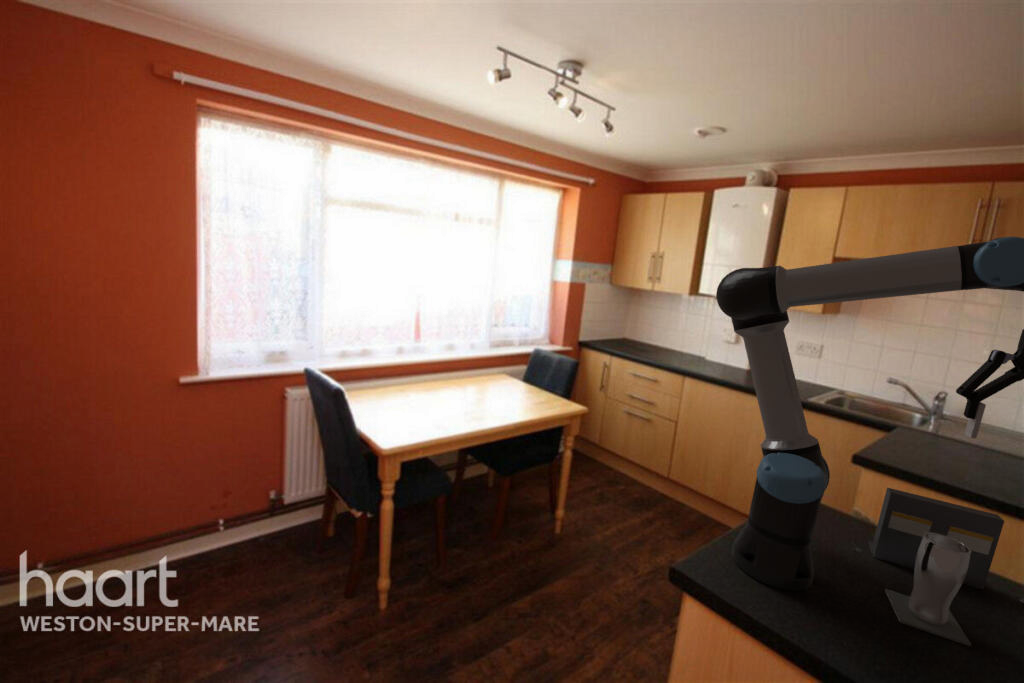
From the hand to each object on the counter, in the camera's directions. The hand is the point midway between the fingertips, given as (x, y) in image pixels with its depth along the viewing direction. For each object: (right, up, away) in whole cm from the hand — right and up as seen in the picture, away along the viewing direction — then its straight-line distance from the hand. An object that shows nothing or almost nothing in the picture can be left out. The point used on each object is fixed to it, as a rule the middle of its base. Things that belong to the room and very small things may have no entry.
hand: (1019, 446), depth 84 cm
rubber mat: (-13, -33, +4) cm, 36 cm away
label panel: (+1, -32, +20) cm, 38 cm away
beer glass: (-13, -33, +4) cm, 36 cm away
